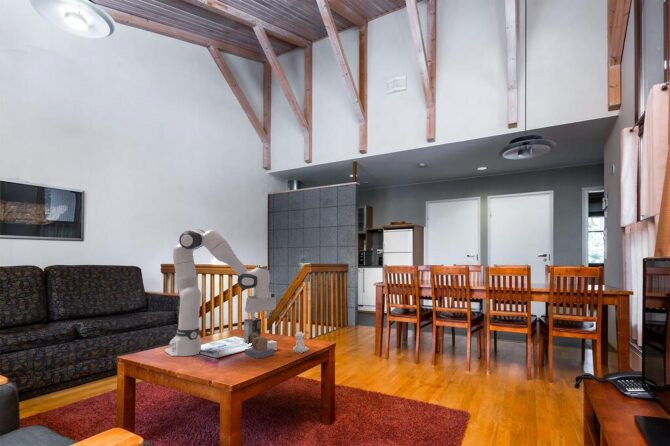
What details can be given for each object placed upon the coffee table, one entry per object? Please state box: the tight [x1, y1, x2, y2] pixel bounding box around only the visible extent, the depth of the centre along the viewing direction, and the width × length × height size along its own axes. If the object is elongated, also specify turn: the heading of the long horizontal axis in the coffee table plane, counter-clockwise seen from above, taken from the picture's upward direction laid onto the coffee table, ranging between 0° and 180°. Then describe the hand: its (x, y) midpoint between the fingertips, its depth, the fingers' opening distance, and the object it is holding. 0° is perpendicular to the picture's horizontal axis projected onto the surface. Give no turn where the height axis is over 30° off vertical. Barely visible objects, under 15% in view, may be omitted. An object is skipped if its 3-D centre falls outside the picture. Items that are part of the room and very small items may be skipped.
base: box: [244, 347, 276, 360], centre depth 215 cm, size 12×12×3 cm
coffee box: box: [243, 317, 262, 344], centre depth 237 cm, size 9×6×16 cm
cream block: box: [267, 339, 278, 351], centre depth 226 cm, size 5×5×5 cm
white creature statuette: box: [292, 331, 310, 354], centre depth 223 cm, size 10×9×12 cm
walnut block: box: [251, 336, 268, 351], centre depth 216 cm, size 6×6×6 cm
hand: (260, 319), depth 217 cm, fingers open, 8 cm apart
